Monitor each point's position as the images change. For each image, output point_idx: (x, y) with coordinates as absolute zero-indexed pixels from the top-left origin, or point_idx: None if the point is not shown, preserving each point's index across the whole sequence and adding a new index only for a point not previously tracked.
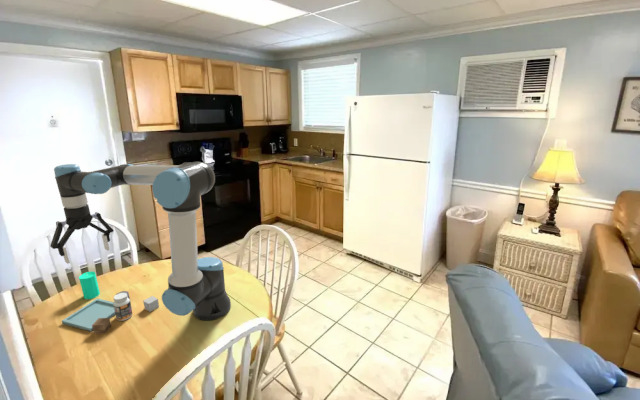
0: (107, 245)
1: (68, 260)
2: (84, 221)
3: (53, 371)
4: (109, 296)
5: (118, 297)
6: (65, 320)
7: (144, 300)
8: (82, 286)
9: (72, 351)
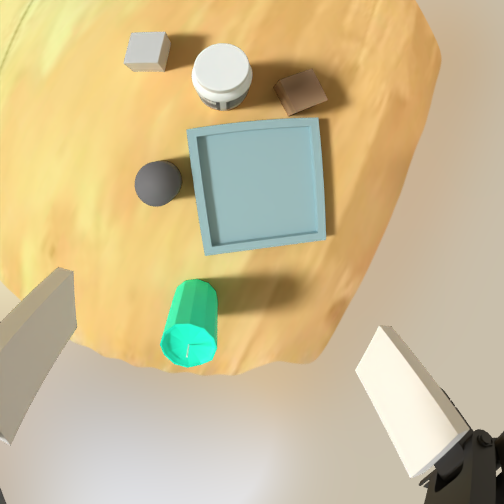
0: (37, 296)
1: (395, 340)
2: None
3: (420, 90)
4: (171, 244)
5: (233, 63)
6: (321, 230)
7: (154, 60)
8: (216, 323)
9: (377, 101)
